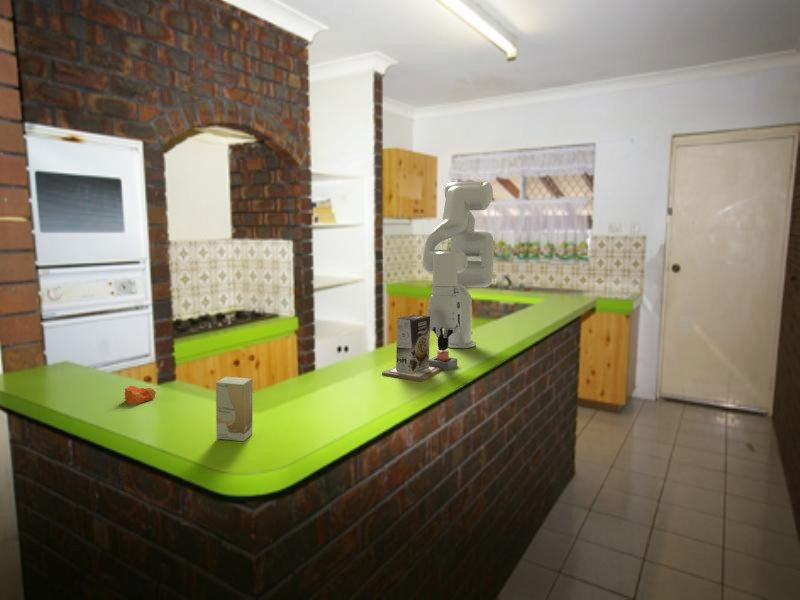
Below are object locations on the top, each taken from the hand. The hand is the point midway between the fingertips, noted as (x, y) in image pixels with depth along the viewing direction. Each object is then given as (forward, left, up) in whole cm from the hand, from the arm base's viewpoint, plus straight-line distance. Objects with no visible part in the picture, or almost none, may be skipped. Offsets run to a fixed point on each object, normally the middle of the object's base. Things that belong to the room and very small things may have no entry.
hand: (442, 349), depth 165 cm
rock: (+69, -51, -7) cm, 86 cm away
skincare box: (+73, -14, -6) cm, 74 cm away
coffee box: (+10, -5, -5) cm, 13 cm away
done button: (0, 0, -4) cm, 4 cm away
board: (+11, -5, -6) cm, 13 cm away
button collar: (0, 0, -6) cm, 6 cm away
